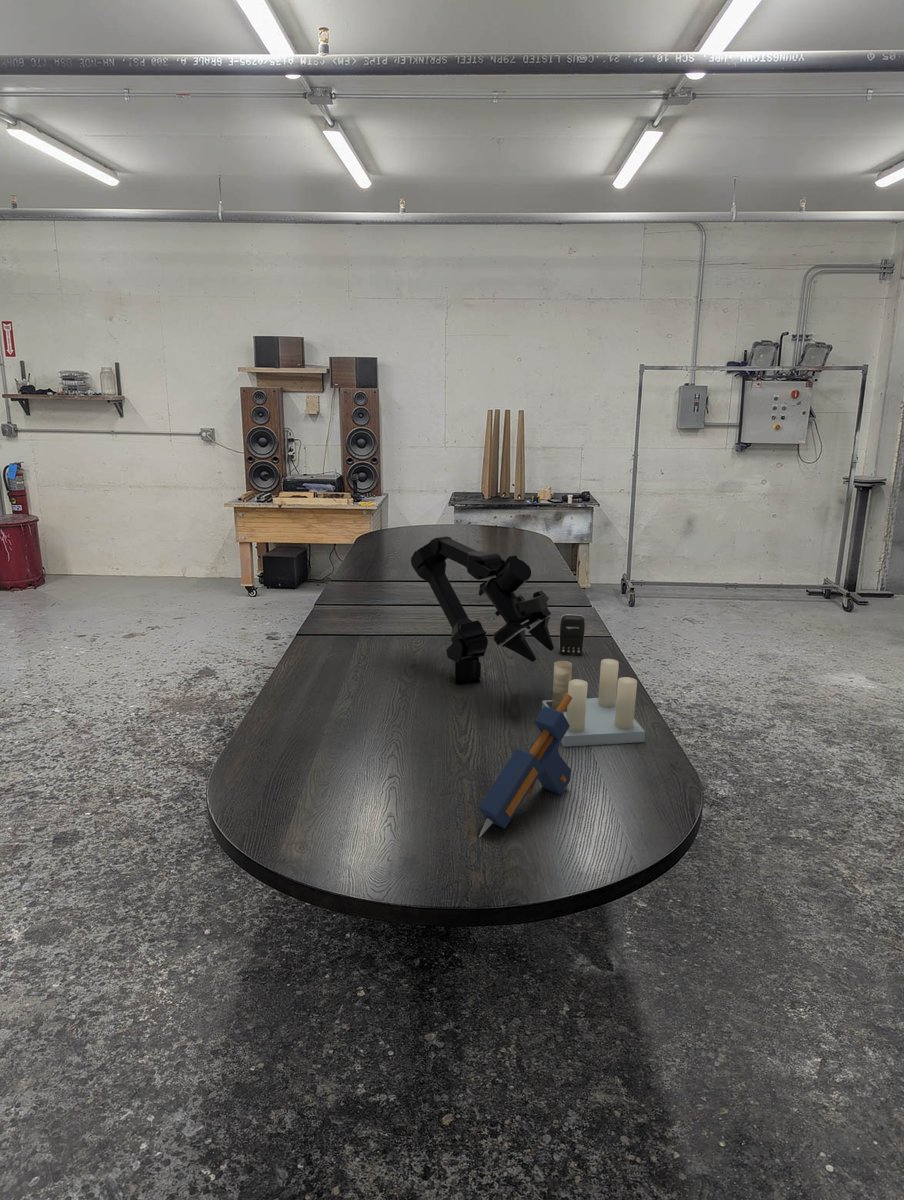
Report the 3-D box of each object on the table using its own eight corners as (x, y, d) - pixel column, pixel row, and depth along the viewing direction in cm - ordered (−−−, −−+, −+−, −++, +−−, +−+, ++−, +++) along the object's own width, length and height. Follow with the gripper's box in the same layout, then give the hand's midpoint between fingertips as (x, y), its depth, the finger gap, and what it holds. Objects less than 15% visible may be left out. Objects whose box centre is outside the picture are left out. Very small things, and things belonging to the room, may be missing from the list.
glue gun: (497, 864, 135) (465, 827, 125) (568, 726, 148) (545, 683, 139) (525, 877, 131) (494, 839, 121) (595, 734, 145) (573, 690, 135)
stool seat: (563, 746, 157) (567, 690, 153) (541, 710, 174) (544, 658, 170) (644, 741, 159) (649, 686, 155) (614, 706, 176) (619, 655, 172)
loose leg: (555, 720, 169) (558, 667, 165) (548, 713, 172) (551, 661, 169) (571, 719, 170) (574, 666, 166) (565, 711, 173) (568, 660, 170)
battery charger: (558, 655, 208) (560, 617, 205) (558, 650, 212) (560, 613, 209) (583, 657, 208) (586, 618, 204) (582, 652, 211) (585, 614, 208)
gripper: (508, 589, 162) (549, 648, 159) (546, 574, 177) (585, 627, 174) (476, 616, 168) (515, 673, 165) (515, 599, 183) (552, 651, 180)
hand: (543, 655), depth 171 cm, fingers open, 9 cm apart
